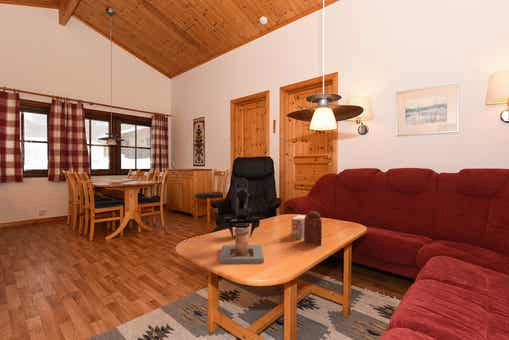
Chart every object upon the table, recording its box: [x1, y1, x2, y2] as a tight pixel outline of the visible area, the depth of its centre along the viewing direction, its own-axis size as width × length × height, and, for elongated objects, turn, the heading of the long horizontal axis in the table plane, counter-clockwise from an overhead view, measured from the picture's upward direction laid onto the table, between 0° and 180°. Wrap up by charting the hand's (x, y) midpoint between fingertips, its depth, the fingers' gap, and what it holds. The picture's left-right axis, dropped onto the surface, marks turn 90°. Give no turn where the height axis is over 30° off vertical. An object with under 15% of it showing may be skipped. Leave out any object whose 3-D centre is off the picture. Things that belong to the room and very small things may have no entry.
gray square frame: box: [218, 244, 265, 264], centre depth 123 cm, size 19×20×2 cm
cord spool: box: [234, 227, 250, 257], centre depth 121 cm, size 7×7×13 cm
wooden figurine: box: [303, 210, 323, 246], centre depth 144 cm, size 12×6×18 cm, turn 46°
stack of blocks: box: [291, 214, 306, 241], centre depth 159 cm, size 21×6×12 cm, turn 151°
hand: (241, 236), depth 127 cm, fingers open, 9 cm apart
